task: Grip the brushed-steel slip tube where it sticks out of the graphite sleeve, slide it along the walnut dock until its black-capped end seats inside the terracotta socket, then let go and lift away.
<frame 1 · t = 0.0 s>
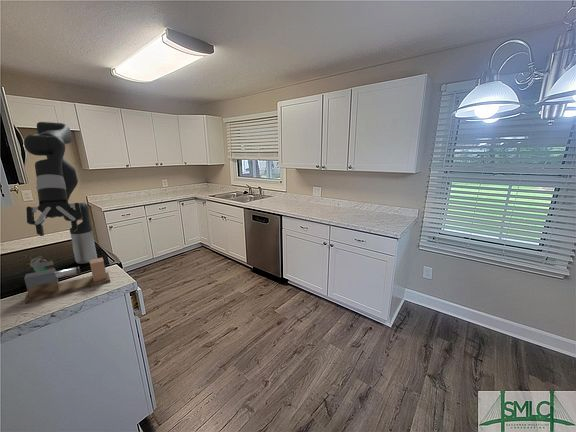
hand: (58, 233, 86), 31 cm above the counter, tool tilted 20°, fingers open, 8 cm apart
food container: (43, 279, 118), on the counter
dock: (71, 287, 111), on the counter
slip tube: (54, 275, 106), point 8 cm above the counter, slide at 0.0 cm
socket: (98, 269, 116), point 6 cm above the counter
sleeve: (41, 277, 103), on the dock, point 8 cm above the counter
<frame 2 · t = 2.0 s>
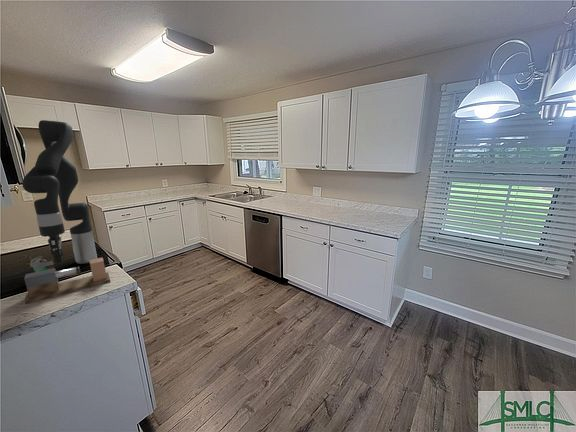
hand: (59, 259, 106), 14 cm above the counter, tool pointing down, fingers open, 8 cm apart
nothing on the counter moved.
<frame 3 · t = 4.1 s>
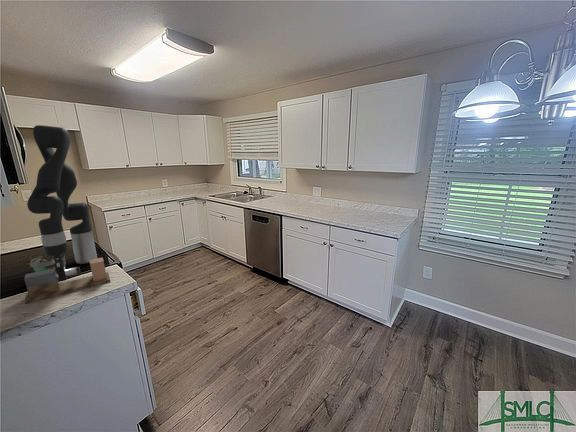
hand: (63, 278, 108), 5 cm above the counter, tool pointing down, fingers closed on slip tube, 3 cm apart
slip tube: (54, 275, 106), point 7 cm above the counter, slide at 0.0 cm, touching gripper
everything else where it was.
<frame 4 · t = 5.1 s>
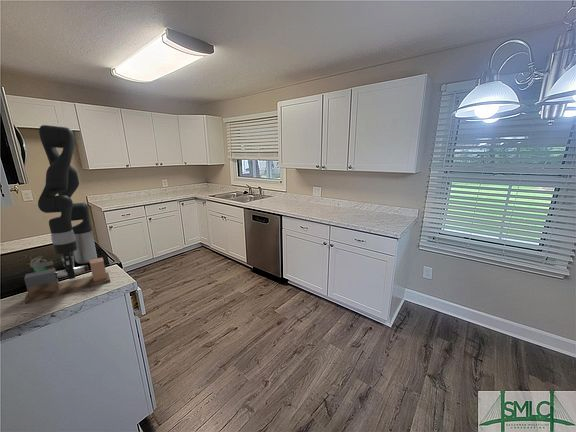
hand: (72, 276, 110), 5 cm above the counter, tool pointing down, fingers closed on slip tube, 3 cm apart
slip tube: (63, 273, 108), point 7 cm above the counter, slide at 3.0 cm, touching gripper
everything else where it was.
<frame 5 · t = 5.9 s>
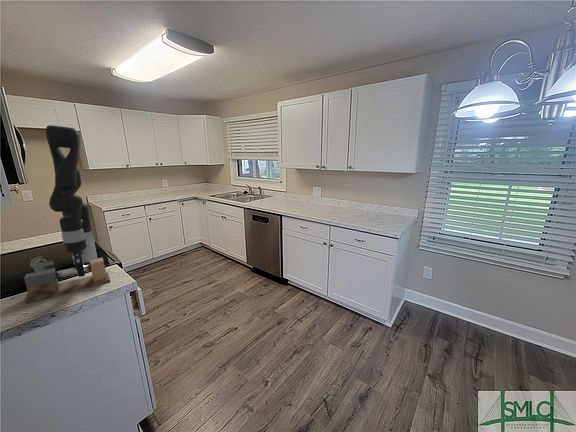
hand: (81, 274, 112), 5 cm above the counter, tool pointing down, fingers closed on slip tube, 3 cm apart
slip tube: (73, 271, 110), point 8 cm above the counter, slide at 6.3 cm, touching gripper
everything else where it was.
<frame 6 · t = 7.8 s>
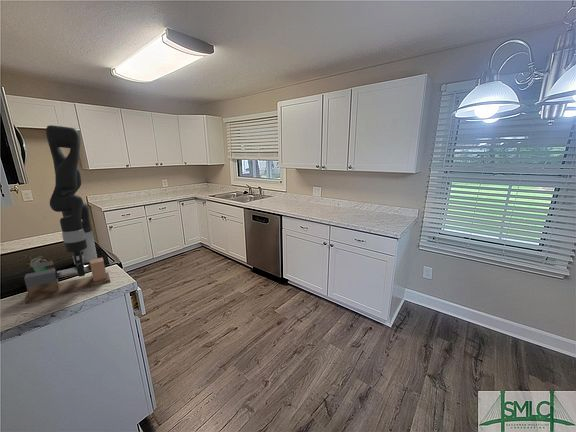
hand: (81, 272, 112), 6 cm above the counter, tool pointing down, fingers open, 8 cm apart
slip tube: (73, 271, 110), point 7 cm above the counter, slide at 6.4 cm
everything else where it was.
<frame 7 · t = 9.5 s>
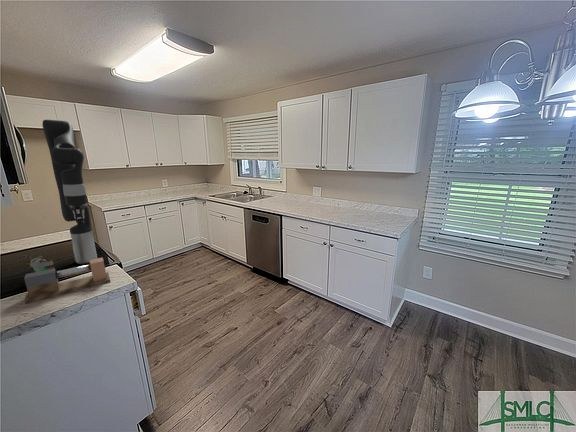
hand: (82, 228, 113), 25 cm above the counter, tool pointing down, fingers open, 8 cm apart
nothing on the counter moved.
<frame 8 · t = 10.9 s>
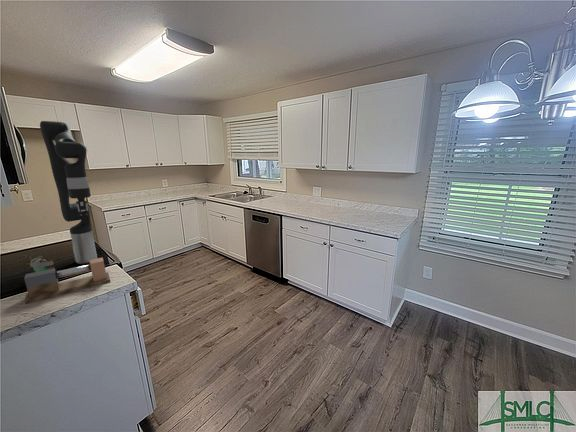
hand: (85, 221, 115), 28 cm above the counter, tool pointing down, fingers open, 8 cm apart
nothing on the counter moved.
at the end: slip tube slide at 6.4 cm; the gripper is holding nothing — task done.
